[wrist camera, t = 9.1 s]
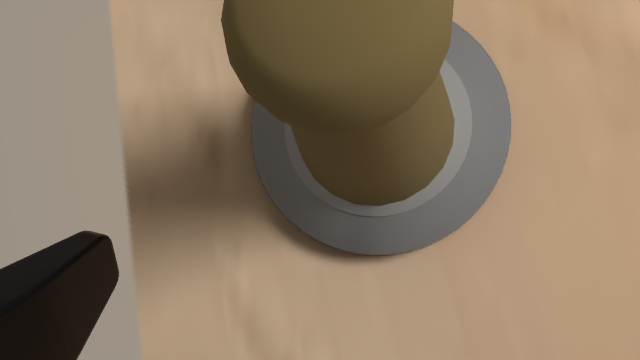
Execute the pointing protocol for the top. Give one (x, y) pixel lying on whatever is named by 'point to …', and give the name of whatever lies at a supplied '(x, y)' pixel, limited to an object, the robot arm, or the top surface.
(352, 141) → the cork
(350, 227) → the coaster
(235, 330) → the top surface
